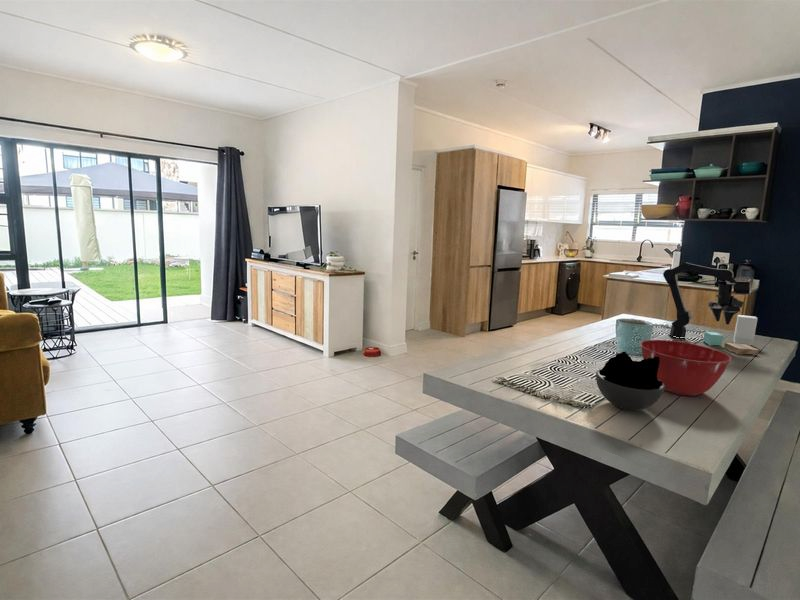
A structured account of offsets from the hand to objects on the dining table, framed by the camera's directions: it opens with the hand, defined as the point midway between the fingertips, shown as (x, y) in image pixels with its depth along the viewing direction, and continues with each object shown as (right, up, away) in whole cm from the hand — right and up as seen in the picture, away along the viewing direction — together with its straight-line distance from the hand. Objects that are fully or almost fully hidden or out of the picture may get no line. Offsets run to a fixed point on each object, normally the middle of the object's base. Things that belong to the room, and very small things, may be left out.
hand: (722, 322), depth 229 cm
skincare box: (+16, -12, +8) cm, 22 cm away
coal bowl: (-96, -24, -86) cm, 131 cm away
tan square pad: (+3, -14, -9) cm, 17 cm away
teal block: (-3, -12, +4) cm, 13 cm away
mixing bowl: (-66, -22, -66) cm, 96 cm away
